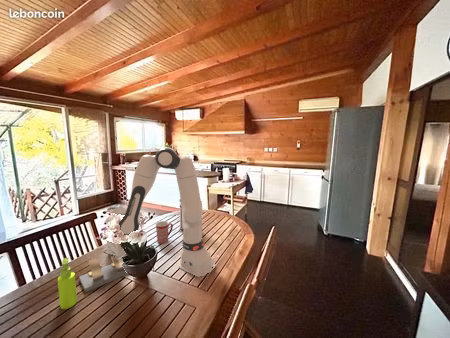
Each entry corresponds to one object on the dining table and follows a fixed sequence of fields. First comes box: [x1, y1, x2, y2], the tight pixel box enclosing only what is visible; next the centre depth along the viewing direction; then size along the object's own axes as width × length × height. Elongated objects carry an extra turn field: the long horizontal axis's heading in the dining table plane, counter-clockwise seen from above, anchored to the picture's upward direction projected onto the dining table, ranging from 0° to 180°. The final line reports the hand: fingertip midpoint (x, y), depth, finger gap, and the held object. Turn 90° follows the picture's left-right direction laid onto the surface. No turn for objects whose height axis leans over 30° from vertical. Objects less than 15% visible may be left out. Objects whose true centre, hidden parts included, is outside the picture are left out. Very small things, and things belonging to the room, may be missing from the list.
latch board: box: [79, 262, 128, 293], centre depth 107 cm, size 12×23×3 cm, turn 136°
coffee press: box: [178, 199, 184, 232], centre depth 165 cm, size 17×16×30 cm
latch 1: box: [88, 257, 104, 282], centre depth 102 cm, size 11×4×1 cm
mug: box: [155, 220, 174, 244], centre depth 145 cm, size 13×9×14 cm
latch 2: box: [110, 255, 124, 272], centre depth 111 cm, size 11×4×1 cm, turn 46°
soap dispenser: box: [57, 257, 78, 310], centre depth 88 cm, size 6×7×20 cm
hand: (116, 257), depth 113 cm, fingers closed
